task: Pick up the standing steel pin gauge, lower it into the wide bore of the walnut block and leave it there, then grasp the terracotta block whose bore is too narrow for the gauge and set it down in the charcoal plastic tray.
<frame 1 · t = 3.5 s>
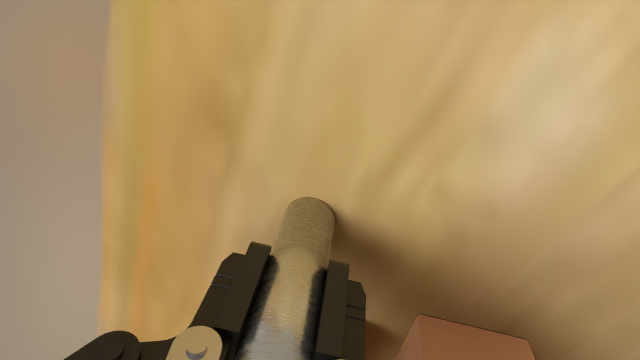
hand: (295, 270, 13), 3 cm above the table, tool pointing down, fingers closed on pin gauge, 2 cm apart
pin gauge: (309, 218, 16), on the table, touching gripper
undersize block: (451, 358, 19), on the table
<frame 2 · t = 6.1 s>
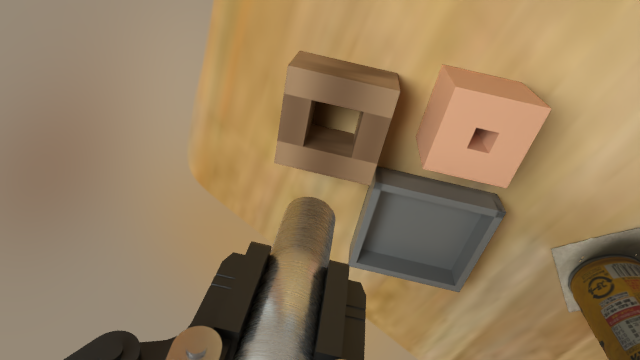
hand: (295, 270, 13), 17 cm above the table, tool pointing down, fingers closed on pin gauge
condiment: (604, 269, 32), on the table
go block: (337, 108, 27), on the table
pin gauge: (309, 218, 16), point 14 cm above the table, touching gripper
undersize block: (465, 111, 26), on the table
tray: (417, 222, 32), on the table
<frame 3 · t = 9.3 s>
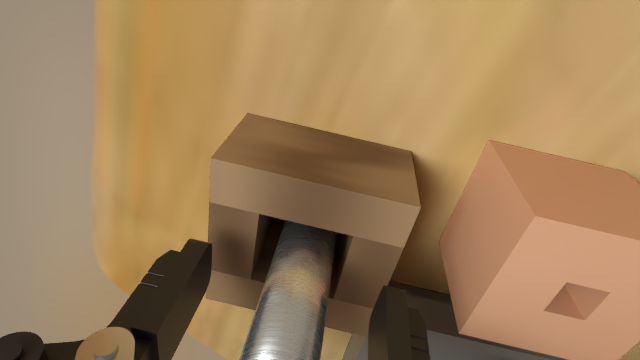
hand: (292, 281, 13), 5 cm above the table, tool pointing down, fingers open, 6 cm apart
go block: (314, 199, 17), on the table
pin gauge: (317, 198, 17), resting in go block
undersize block: (523, 210, 16), on the table
tray: (436, 349, 22), on the table
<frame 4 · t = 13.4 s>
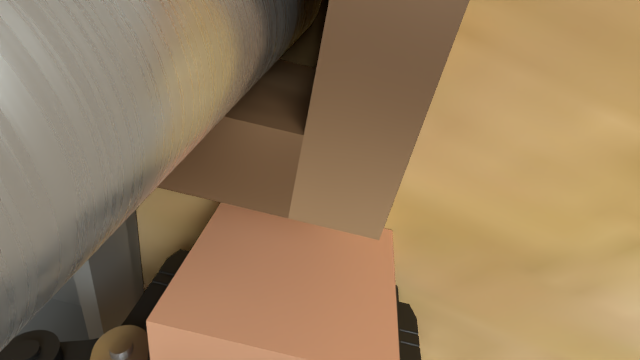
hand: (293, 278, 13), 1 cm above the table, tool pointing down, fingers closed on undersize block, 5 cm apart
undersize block: (296, 269, 13), on the table, touching gripper
tray: (19, 203, 13), on the table
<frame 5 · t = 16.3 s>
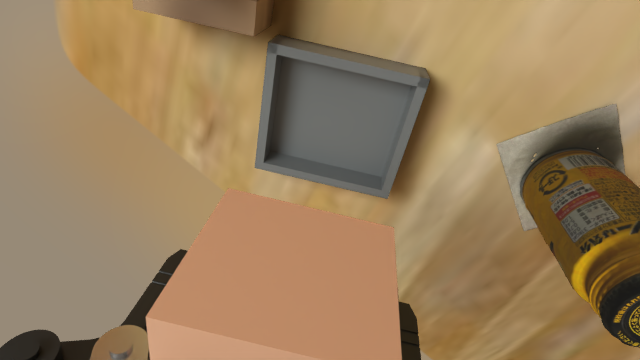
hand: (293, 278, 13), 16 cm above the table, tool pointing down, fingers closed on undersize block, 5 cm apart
condiment: (562, 171, 27), on the table
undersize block: (297, 267, 13), point 16 cm above the table, touching gripper
tray: (337, 114, 27), on the table
when the fingers open (3 cm above the table, at t = 19.0 s): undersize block drops 2 cm, resting on tray.
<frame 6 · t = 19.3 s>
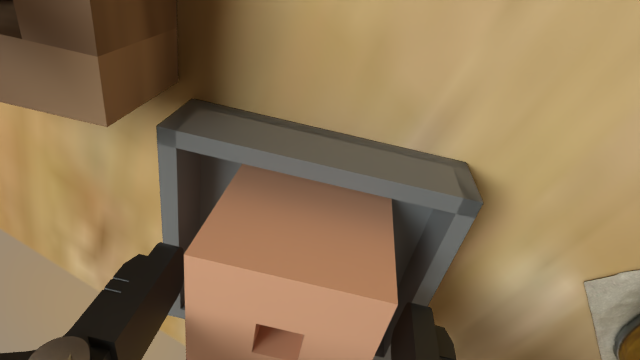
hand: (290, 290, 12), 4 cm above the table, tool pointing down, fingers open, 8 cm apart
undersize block: (305, 233, 15), point 1 cm above the table, touching tray
tray: (307, 226, 15), on the table
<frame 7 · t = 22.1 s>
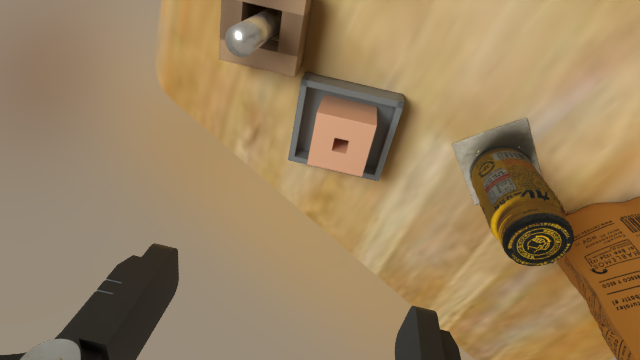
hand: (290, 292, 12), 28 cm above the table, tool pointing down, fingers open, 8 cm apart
condiment: (497, 162, 39), on the table
go block: (271, 20, 35), on the table
pin gauge: (273, 20, 35), resting in go block
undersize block: (344, 124, 38), point 1 cm above the table, touching tray
coffee package: (606, 230, 42), on the table
tray: (344, 123, 39), on the table
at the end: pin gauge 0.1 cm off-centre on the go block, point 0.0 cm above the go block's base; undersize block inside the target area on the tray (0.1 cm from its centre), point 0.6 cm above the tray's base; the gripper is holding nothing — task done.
